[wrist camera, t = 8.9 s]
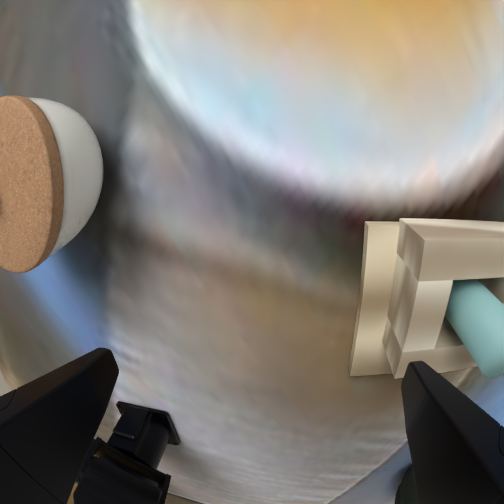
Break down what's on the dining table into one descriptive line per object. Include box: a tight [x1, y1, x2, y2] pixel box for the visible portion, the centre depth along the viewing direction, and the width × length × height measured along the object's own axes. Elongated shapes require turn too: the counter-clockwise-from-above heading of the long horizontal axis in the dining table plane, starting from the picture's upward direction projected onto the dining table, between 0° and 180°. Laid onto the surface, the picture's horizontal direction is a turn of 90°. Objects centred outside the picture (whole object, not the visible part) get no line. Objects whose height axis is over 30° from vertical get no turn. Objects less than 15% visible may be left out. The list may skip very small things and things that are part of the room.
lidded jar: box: [0, 96, 103, 273], centre depth 15 cm, size 11×11×9 cm
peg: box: [445, 279, 504, 378], centre depth 13 cm, size 3×3×8 cm
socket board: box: [348, 218, 504, 379], centre depth 17 cm, size 12×11×5 cm
